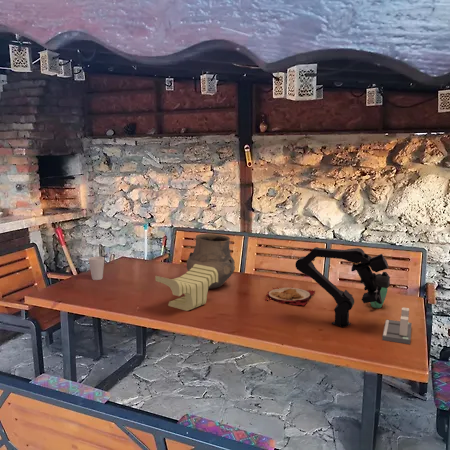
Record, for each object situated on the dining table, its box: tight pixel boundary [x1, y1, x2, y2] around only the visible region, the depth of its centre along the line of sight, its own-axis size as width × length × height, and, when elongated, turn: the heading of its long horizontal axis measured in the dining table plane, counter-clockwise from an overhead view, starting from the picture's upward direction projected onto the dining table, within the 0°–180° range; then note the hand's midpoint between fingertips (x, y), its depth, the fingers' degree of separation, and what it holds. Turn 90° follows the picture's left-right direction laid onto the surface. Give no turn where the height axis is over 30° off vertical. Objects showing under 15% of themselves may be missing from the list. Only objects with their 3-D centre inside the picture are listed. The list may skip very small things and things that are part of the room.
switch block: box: [381, 318, 412, 345], centre depth 201 cm, size 11×21×2 cm, turn 157°
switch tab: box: [400, 307, 410, 319], centre depth 205 cm, size 3×4×7 cm
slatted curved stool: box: [155, 264, 218, 312], centre depth 235 cm, size 30×16×18 cm, turn 143°
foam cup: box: [88, 255, 105, 281], centre depth 284 cm, size 10×9×13 cm
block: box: [399, 316, 409, 336], centre depth 194 cm, size 3×4×7 cm
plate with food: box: [264, 286, 316, 307], centre depth 251 cm, size 25×26×4 cm
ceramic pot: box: [186, 233, 236, 290], centre depth 268 cm, size 28×28×30 cm
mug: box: [369, 287, 389, 309], centre depth 232 cm, size 15×10×10 cm
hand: (380, 303), depth 207 cm, fingers closed
